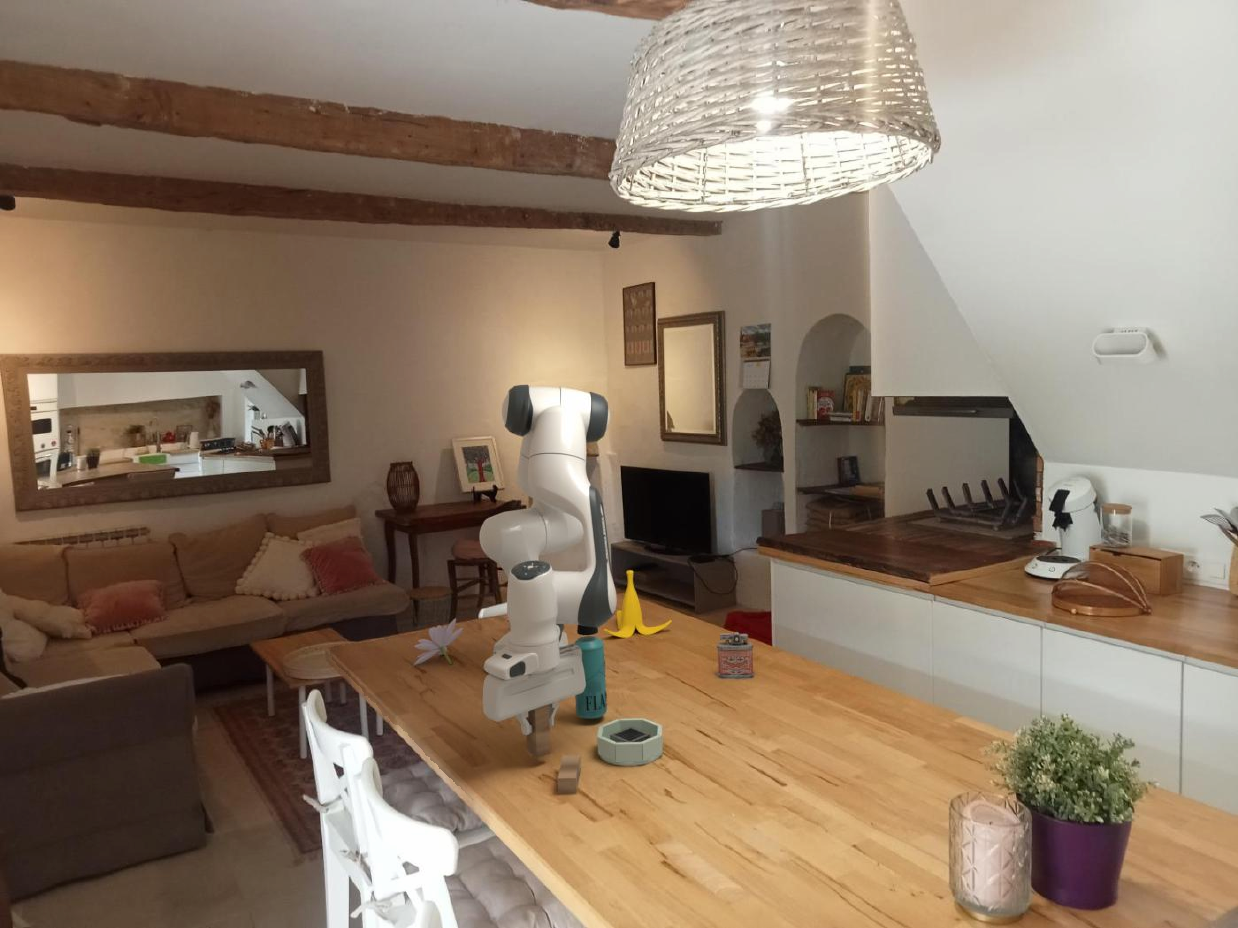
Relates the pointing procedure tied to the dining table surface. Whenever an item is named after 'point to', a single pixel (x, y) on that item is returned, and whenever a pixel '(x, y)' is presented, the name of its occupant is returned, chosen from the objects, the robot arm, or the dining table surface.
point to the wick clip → (630, 735)
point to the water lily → (437, 642)
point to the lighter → (735, 657)
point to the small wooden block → (569, 774)
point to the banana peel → (632, 614)
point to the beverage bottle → (591, 675)
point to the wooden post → (539, 732)
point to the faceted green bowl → (630, 743)
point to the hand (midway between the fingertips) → (537, 729)
